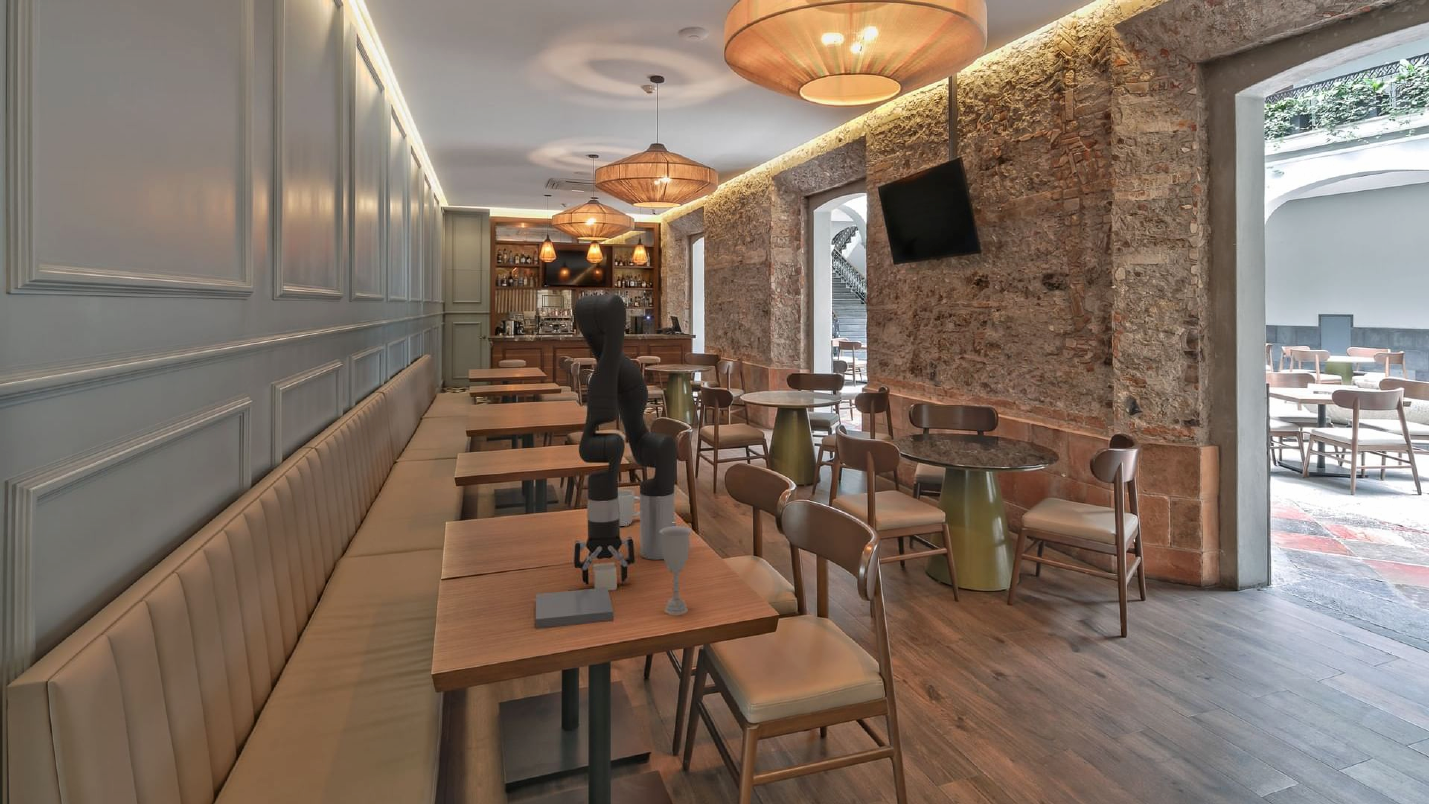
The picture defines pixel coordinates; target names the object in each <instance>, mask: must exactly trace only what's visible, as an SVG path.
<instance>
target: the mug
mask: <svg viewBox="0 0 1429 804" xmlns="http://www.w3.org/2000/svg"><path fill="white" fill-rule="evenodd" d="M635 500H636V501H638V502H639V503H640V496H635V493H634V491H632V490H629V489H618V502H619V511H620V516H619V519H620V526H625V527H627V526H626V525H628V526H630V525H631V524H632V522H633V519H634V518H636V517H640V509H638V511H637V512H635ZM629 524H630V525H629Z"/></svg>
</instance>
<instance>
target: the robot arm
mask: <svg viewBox="0 0 1429 804" xmlns="http://www.w3.org/2000/svg"><path fill="white" fill-rule="evenodd" d="M574 317H575V321H576V324H577V327H578V329H579V331H580V333H581V335H582V337H583V339H584V341H585V342H586V344H587V346H588V348H589V349H590V351H591V353H592V355H593V357H594V358H595V361H596V363H597V364H596V366H595V368H594V370H593V372H592V373H591V375H590V378H589V380H588V382H587V383H588V384H587V389H586V418H585V423H584V426H583V427H584V428H583V431H582V435H581V438H580V441H579V445H578V454H579V457H580V459H581V460H582V461H583V462H584V463H587V464H608V467H607V468H606V469H605V470H601V471H596V472H592V473H590V474H589V476H588V478H587V507H586V509H587V513H586V516H587V540H586V541H580V540H575V541H574V549H573V550H574V553H573V565H574V566H573V567H574V568H575V569H580V570H581V576H582V577H581V578H582V582H583V583H585V585H586V586H588V585H590V579H589V576H590V575H589V574H590V573H589V567H590V566H591V564H592V563H594V561H595V559H597V560H603V559H612V558H613V557H614V558H615V559H616V560H617V561H618V562H619V563H620V579H621V582H626V579H628V567H629V565H631V564H635V562H636V558H635V545H634V539H633V537H632V536H627V538H621V535H620V534H621V530H620V529H621V527H620V519H619V516H620V511H619V502H618V490H619V487H618V486H619V483H618V482H619V481H618V480H619V474H620V473H619V472H620V469H621V465H622V460H623V457H624V453H625V445H626V444H625V440H624V438H623V436H622V435H621V434H619V433H614V432H596V431H597V429H598V428H599V426H601V425H604V424H610V423H613V422H615V421H616V420H617V418H618V415H619V417H620V420H621V422H622V425H623V427H624V431H625V432H624V433H625V434H626V438H627V441H628V445H629V448H630V451H631V455H632V457H633V459H634V461H635V462H636V463H637V464H638V466H641V467H645V468H650V469H651V468H652V469H654V475H653V477H651V478H648V479H646V480H643V481H640V484H639V497H640V502H639V510H640V515H639V523H640V525H639V526H640V529H639V530H640V556H641V557H642V558H644V559H647V560H664V557H663V554H662V536H661V534H660V532H659V531H660V530H661V529H663V528H666V527H672V526H677V521H676V520H675V485H676V481H677V461H678V460H677V459H678V447H677V441H676V440H675V438H674V437H673V436H672V435H670V434H665V433H652V432H650V431H649V429H648V428H647V425H646V422H645V418H644V414H645V412H646V407H647V405H648V400H649V389H648V387H647V383H646V381H645V379H644V376H643V373H642V372H641V369H640V368H639V366H638V365H637V364H636V363H635V362H634V360H632V359H630V358H629V357H628V356H627V355H626V354H625V353H624V352H623V348H624V340H625V335H626V334H625V333H626V325H627V309H626V305H625V301H624V300H623V299H622V297H621V296H620V295H618V294H616V293H615V294H612V293H608V294H606V293H605V294H596V295H586V296H583V297H580V298H578V299H577V301H576V303H575V306H574ZM622 545H624V547H625V548H627V553H628V557H624V555H623V554H622V553H621V552H620V550H619V549H620V548H621V547H622ZM585 548H586V549H587V550H588V551H589V552H588V553H587V555H586V557H585V559H584V560H583V561H581V552H583V551H584V549H585Z"/></svg>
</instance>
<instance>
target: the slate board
mask: <svg viewBox="0 0 1429 804" xmlns="http://www.w3.org/2000/svg"><path fill="white" fill-rule="evenodd" d="M613 621H614V609H613V604H612V601H611V597H610V593H609V590H608V589H607V588H598V589H595V588H590V589H588V588H587V589H580V590H579V589H578V590H566V591H557V592H546V593H545V592H544V593H536V594H535V629H543V628H554V627H561V626H572V625H574V626H575V625H582V624H591V623H593V624H594V623H601V622H613Z"/></svg>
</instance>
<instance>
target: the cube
mask: <svg viewBox="0 0 1429 804" xmlns="http://www.w3.org/2000/svg"><path fill="white" fill-rule="evenodd" d="M592 568H593V587H594V589H598V588H607V589H608V591H616V590H615V589H617V590H618V588H617V587H618V586H617V583H618V581H617V567H616V565H615V562H605V563H596V564H595V563H594V564H593V567H592Z"/></svg>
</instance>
